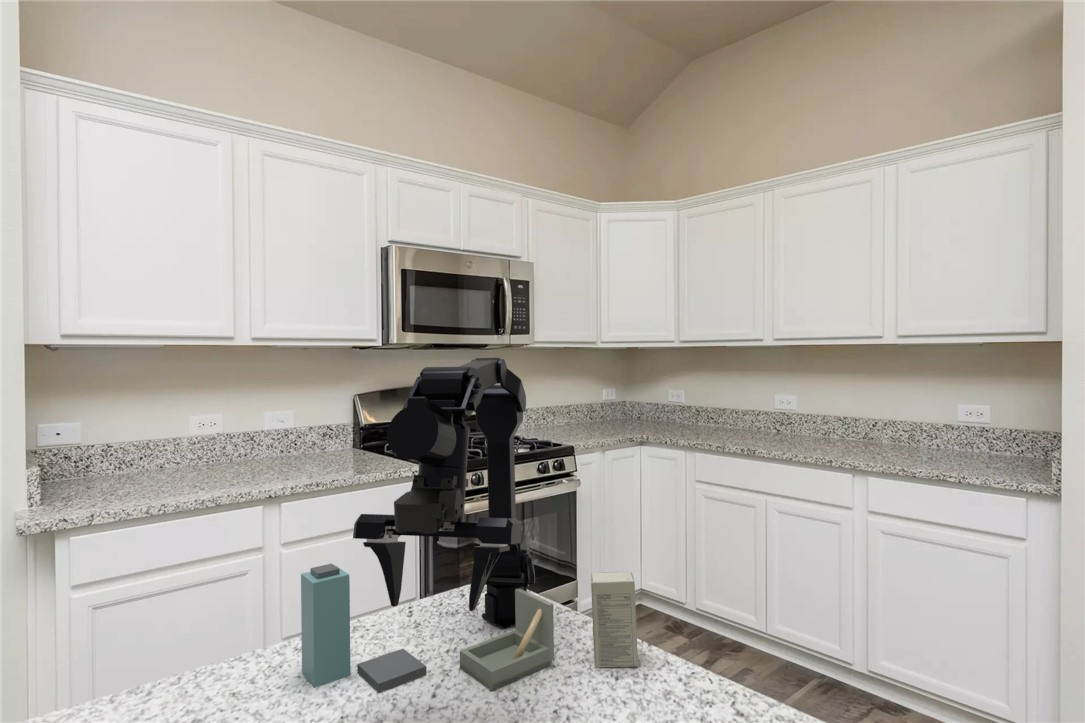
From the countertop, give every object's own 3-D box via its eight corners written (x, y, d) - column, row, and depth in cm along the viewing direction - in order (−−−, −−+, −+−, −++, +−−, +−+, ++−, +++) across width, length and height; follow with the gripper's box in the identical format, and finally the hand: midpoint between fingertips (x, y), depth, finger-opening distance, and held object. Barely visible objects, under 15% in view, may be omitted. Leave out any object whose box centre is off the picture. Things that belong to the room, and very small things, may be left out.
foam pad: (403, 656, 88) (403, 648, 88) (426, 674, 83) (426, 666, 83) (357, 672, 84) (357, 664, 84) (378, 693, 78) (378, 683, 78)
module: (337, 662, 87) (335, 560, 87) (350, 675, 83) (349, 568, 83) (301, 673, 84) (300, 567, 84) (314, 687, 80) (313, 577, 80)
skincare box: (634, 653, 88) (633, 570, 88) (638, 668, 84) (637, 580, 84) (591, 653, 88) (590, 570, 88) (593, 668, 84) (591, 581, 84)
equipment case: (520, 644, 91) (519, 588, 92) (554, 663, 85) (553, 603, 85) (459, 668, 85) (459, 607, 85) (492, 691, 78) (491, 625, 79)
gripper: (336, 461, 65) (319, 614, 61) (502, 463, 62) (494, 625, 58) (381, 469, 76) (368, 600, 72) (524, 471, 73) (519, 609, 69)
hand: (432, 608), depth 67 cm, fingers open, 9 cm apart
